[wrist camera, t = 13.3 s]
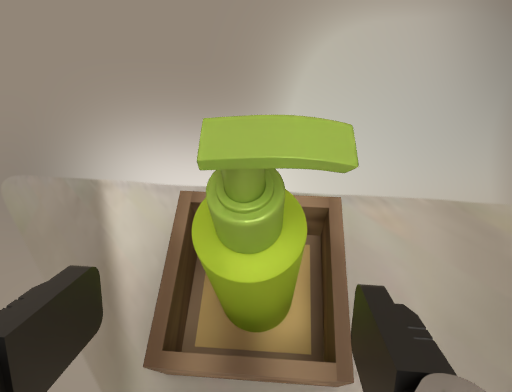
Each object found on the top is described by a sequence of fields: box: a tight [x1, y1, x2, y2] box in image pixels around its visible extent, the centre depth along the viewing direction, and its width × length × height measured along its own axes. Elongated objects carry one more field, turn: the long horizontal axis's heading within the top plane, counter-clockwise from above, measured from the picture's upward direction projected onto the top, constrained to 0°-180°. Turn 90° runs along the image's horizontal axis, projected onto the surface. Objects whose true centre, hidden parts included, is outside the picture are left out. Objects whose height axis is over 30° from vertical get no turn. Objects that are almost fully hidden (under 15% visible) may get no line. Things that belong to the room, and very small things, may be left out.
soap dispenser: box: [192, 115, 358, 332], centre depth 20 cm, size 6×7×20 cm
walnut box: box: [143, 191, 354, 387], centre depth 27 cm, size 13×13×6 cm
